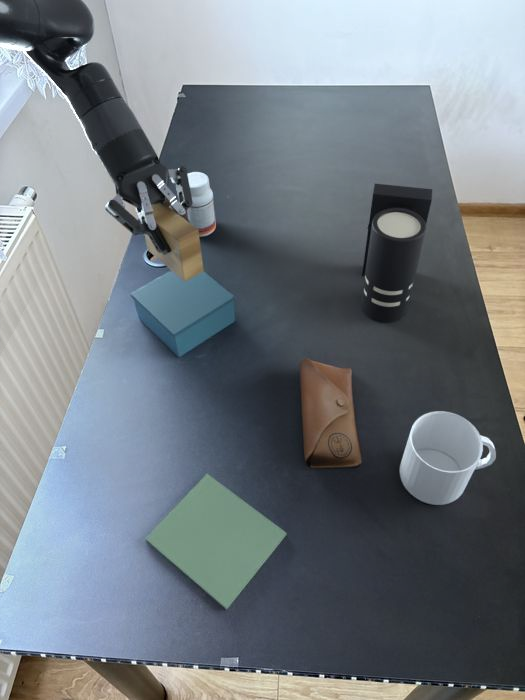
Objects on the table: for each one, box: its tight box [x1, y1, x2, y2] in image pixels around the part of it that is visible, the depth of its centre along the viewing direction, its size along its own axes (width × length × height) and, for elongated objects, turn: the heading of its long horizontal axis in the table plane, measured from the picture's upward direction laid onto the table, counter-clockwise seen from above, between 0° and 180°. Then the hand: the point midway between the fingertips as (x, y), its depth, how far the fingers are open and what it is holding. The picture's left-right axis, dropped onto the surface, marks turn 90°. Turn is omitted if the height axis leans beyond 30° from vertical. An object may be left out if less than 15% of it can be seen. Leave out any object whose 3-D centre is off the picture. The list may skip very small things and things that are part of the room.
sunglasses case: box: [299, 357, 363, 470], centre depth 89 cm, size 18×7×7 cm
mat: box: [145, 473, 288, 610], centre depth 78 cm, size 12×14×1 cm
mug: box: [399, 410, 497, 506], centre depth 79 cm, size 12×9×9 cm
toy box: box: [130, 270, 236, 358], centre depth 101 cm, size 12×12×6 cm
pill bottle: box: [186, 171, 217, 238], centre depth 115 cm, size 6×6×11 cm
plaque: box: [143, 203, 205, 282], centre depth 90 cm, size 10×4×8 cm, turn 41°
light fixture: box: [360, 183, 433, 323], centre depth 99 cm, size 10×14×18 cm
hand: (179, 246), depth 89 cm, fingers closed on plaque, 3 cm apart
